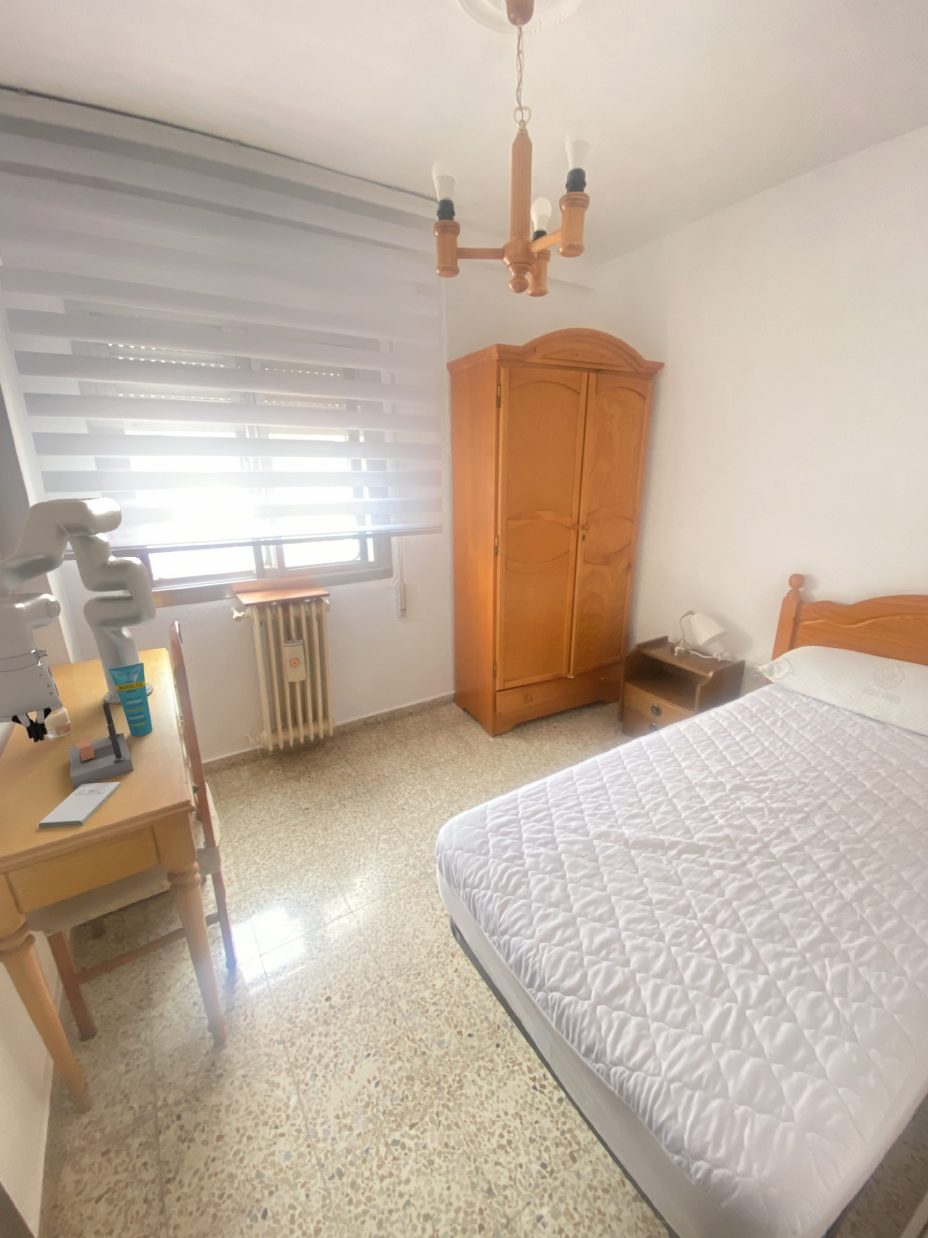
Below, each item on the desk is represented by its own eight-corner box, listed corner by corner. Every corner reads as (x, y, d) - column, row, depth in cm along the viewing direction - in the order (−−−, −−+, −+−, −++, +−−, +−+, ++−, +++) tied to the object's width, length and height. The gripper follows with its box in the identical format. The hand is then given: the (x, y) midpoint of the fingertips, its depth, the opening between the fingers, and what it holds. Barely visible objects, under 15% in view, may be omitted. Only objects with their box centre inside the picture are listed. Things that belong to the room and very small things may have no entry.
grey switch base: (72, 758, 119) (68, 747, 118) (125, 742, 125) (123, 731, 124) (74, 790, 107) (70, 777, 106) (133, 770, 114) (130, 758, 113)
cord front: (115, 756, 112) (106, 724, 110) (121, 754, 113) (113, 722, 110) (116, 759, 111) (107, 726, 109) (122, 757, 112) (113, 724, 110)
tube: (125, 740, 126) (107, 671, 121) (125, 732, 130) (108, 665, 124) (159, 731, 130) (143, 664, 124) (158, 724, 134) (142, 659, 128)
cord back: (110, 733, 122) (102, 703, 120) (115, 731, 123) (107, 701, 120) (110, 735, 121) (102, 704, 119) (116, 733, 122) (108, 703, 120)
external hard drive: (39, 829, 96) (82, 789, 108) (83, 827, 97) (121, 787, 109) (37, 823, 96) (80, 783, 108) (81, 820, 96) (119, 781, 108)
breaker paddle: (81, 753, 115) (77, 741, 114) (94, 749, 116) (90, 738, 115) (82, 761, 112) (78, 749, 111) (95, 757, 113) (91, 745, 112)
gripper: (60, 647, 109) (81, 721, 115) (-32, 665, 100) (-5, 744, 106) (61, 657, 104) (82, 734, 109) (-37, 676, 95) (-9, 759, 100)
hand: (39, 738), depth 107 cm, fingers closed
